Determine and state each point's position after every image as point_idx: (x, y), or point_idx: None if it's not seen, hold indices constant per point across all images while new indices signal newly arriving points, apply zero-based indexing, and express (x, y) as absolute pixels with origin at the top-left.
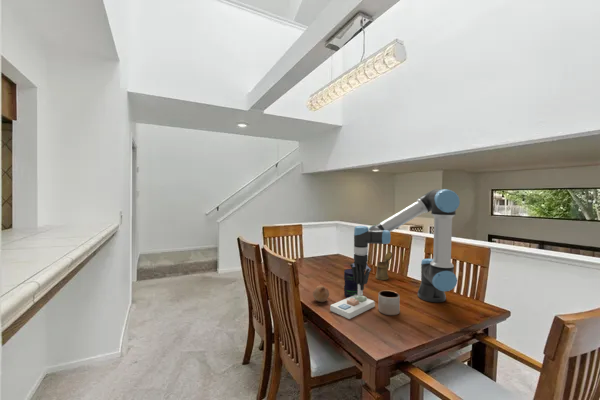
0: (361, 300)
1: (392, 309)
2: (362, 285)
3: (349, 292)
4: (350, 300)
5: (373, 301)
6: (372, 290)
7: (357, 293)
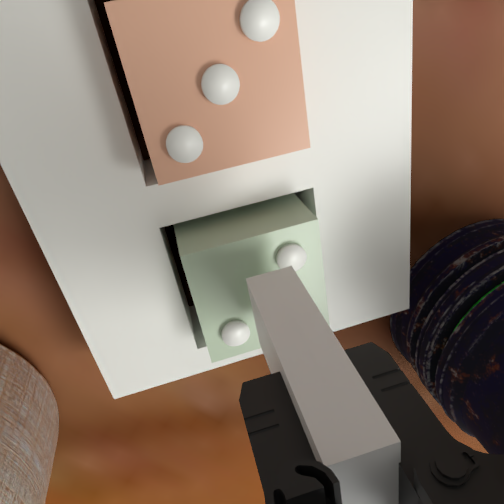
0: (178, 247)
1: None
2: (265, 498)
3: (496, 267)
4: (242, 36)
5: (112, 383)
6: None
7: (419, 341)
